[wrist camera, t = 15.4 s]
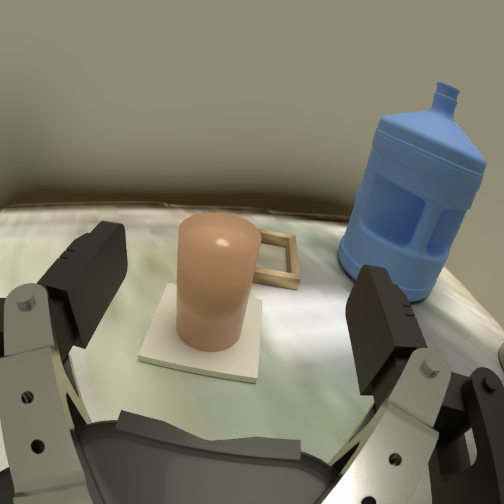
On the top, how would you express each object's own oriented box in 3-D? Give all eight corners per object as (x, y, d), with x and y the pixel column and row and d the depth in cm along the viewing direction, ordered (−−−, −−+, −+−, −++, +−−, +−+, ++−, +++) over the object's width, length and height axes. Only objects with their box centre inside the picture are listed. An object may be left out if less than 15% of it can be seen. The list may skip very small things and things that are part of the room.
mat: (260, 305, 33) (262, 300, 33) (255, 383, 25) (257, 378, 24) (168, 288, 33) (168, 282, 32) (138, 360, 24) (138, 354, 24)
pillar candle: (244, 294, 33) (261, 207, 27) (239, 356, 26) (261, 262, 20) (187, 285, 32) (193, 196, 27) (169, 345, 25) (169, 248, 20)
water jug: (333, 233, 51) (380, 67, 36) (415, 256, 50) (470, 104, 35) (338, 291, 38) (411, 59, 23) (441, 314, 37) (525, 119, 22)
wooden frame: (292, 244, 45) (295, 235, 45) (297, 289, 37) (300, 279, 36) (221, 231, 45) (222, 222, 44) (208, 274, 36) (209, 263, 35)
